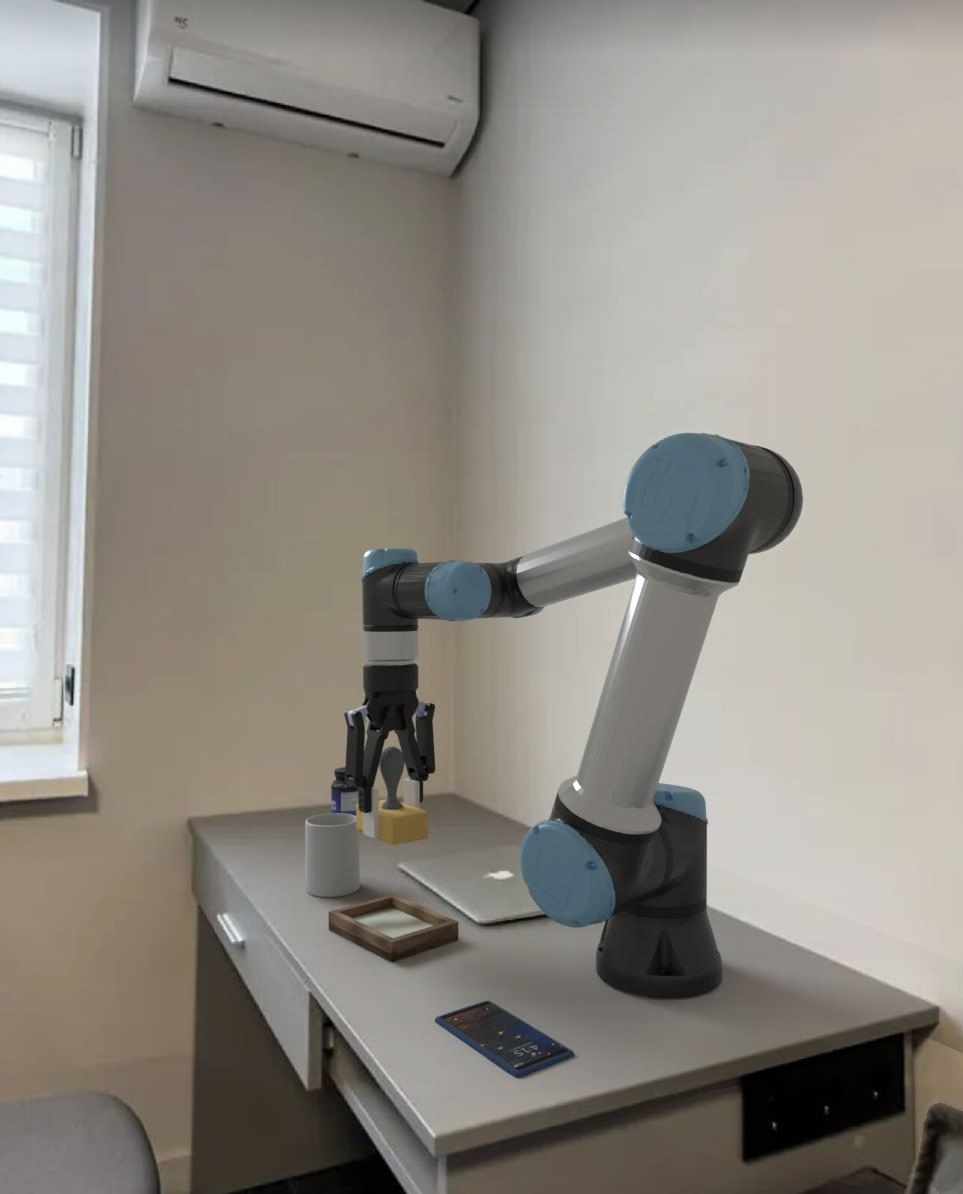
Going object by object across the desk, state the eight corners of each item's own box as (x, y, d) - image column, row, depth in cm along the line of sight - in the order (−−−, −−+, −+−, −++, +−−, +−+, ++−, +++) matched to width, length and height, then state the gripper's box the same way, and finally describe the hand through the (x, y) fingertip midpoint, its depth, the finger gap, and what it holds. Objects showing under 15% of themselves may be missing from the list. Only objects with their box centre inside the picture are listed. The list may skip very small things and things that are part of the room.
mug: (364, 893, 143) (364, 823, 143) (309, 900, 140) (309, 828, 140) (349, 871, 154) (349, 806, 154) (298, 877, 151) (298, 810, 151)
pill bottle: (329, 821, 188) (328, 767, 188) (359, 818, 190) (358, 765, 190) (333, 828, 182) (333, 772, 182) (364, 825, 184) (363, 770, 184)
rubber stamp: (429, 838, 123) (428, 749, 123) (392, 846, 120) (391, 754, 120) (391, 823, 131) (390, 739, 131) (355, 830, 128) (354, 744, 128)
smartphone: (488, 998, 105) (576, 1051, 93) (488, 1005, 105) (576, 1059, 93) (432, 1016, 101) (516, 1074, 88) (432, 1024, 101) (517, 1083, 88)
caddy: (458, 940, 124) (458, 921, 124) (391, 962, 116) (391, 942, 116) (393, 911, 135) (393, 894, 135) (328, 929, 128) (328, 911, 128)
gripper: (429, 657, 135) (430, 814, 135) (315, 664, 122) (316, 838, 122) (462, 659, 129) (462, 824, 129) (346, 667, 116) (347, 850, 117)
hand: (391, 831), depth 126 cm, fingers closed on rubber stamp, 6 cm apart
